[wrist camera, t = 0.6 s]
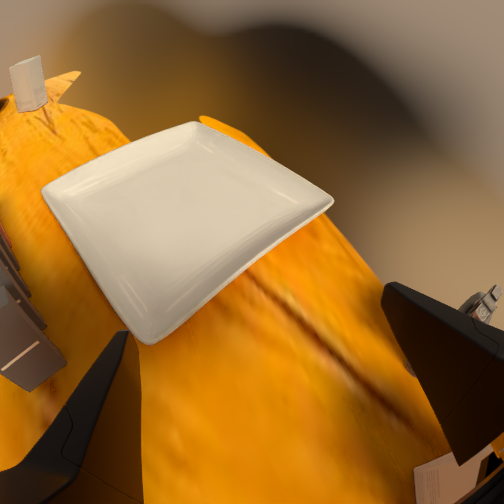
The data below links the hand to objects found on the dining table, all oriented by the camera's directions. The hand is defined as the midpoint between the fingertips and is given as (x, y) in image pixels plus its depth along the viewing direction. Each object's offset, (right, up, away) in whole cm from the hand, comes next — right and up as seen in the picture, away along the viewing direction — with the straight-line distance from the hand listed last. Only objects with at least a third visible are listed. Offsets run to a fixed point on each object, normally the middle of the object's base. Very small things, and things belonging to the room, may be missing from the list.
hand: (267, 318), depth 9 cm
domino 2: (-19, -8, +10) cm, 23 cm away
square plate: (-10, +7, +26) cm, 28 cm away
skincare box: (-60, +41, +46) cm, 86 cm away
